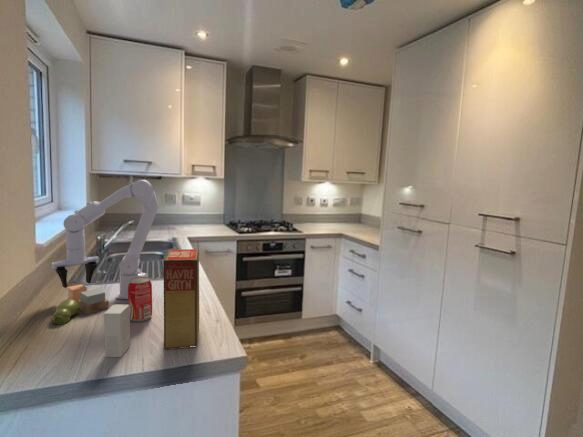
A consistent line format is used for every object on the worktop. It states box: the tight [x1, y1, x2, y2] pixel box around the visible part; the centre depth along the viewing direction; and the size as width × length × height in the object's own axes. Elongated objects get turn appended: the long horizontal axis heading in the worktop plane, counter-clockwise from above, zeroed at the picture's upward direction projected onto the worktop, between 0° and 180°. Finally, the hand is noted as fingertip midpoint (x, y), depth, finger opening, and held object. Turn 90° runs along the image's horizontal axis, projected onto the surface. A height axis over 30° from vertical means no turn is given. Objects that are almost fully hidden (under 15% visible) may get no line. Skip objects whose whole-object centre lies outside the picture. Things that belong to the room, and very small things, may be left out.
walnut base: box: [77, 298, 110, 315], centre depth 117 cm, size 7×7×3 cm
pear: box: [52, 299, 80, 325], centre depth 109 cm, size 6×5×10 cm
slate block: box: [80, 288, 106, 305], centre depth 117 cm, size 6×6×3 cm
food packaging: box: [162, 248, 200, 350], centre depth 99 cm, size 13×9×25 cm
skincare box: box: [103, 304, 131, 358], centre depth 90 cm, size 6×4×12 cm
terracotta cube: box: [67, 284, 88, 302], centre depth 124 cm, size 4×4×4 cm
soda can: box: [127, 276, 153, 323], centre depth 111 cm, size 7×7×13 cm
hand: (76, 284), depth 124 cm, fingers open, 7 cm apart
